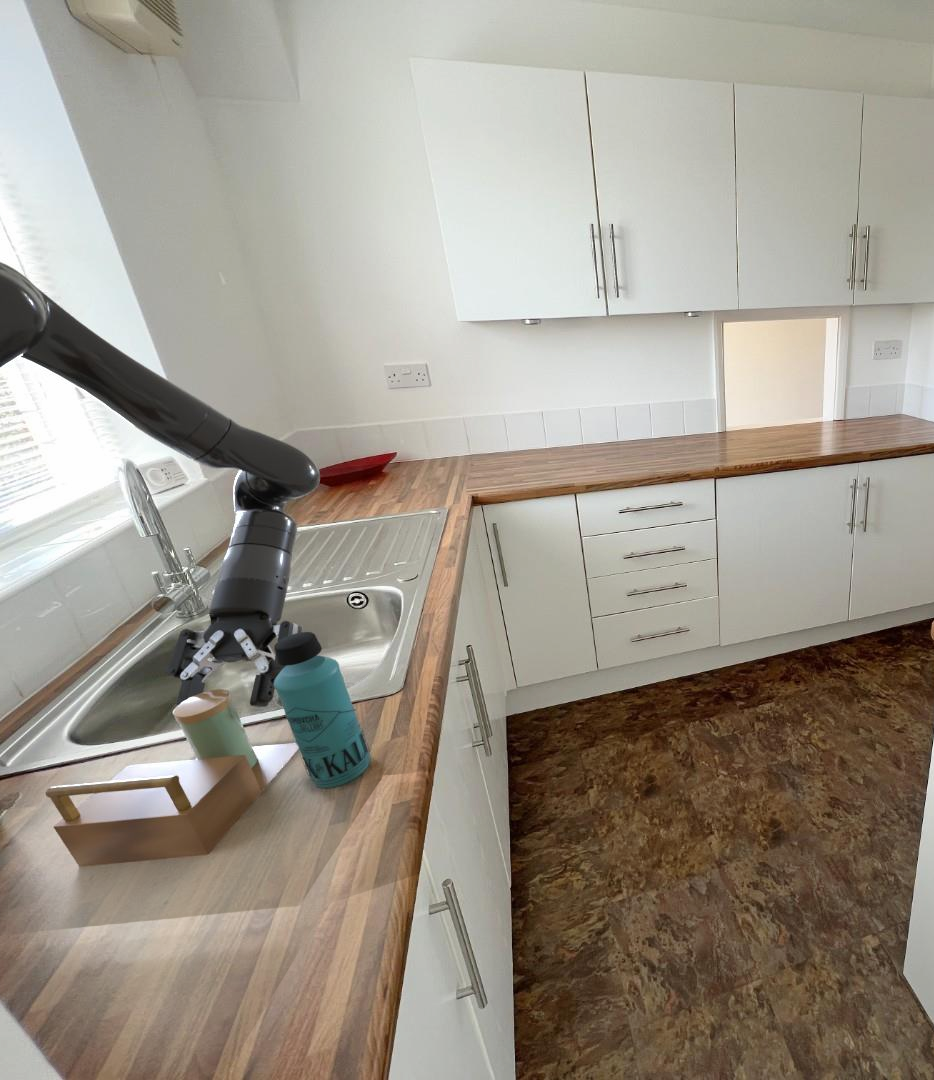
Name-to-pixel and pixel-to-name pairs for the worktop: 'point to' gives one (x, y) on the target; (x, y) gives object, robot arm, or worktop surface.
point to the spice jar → (214, 726)
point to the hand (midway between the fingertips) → (223, 709)
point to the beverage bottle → (319, 712)
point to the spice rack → (163, 807)
